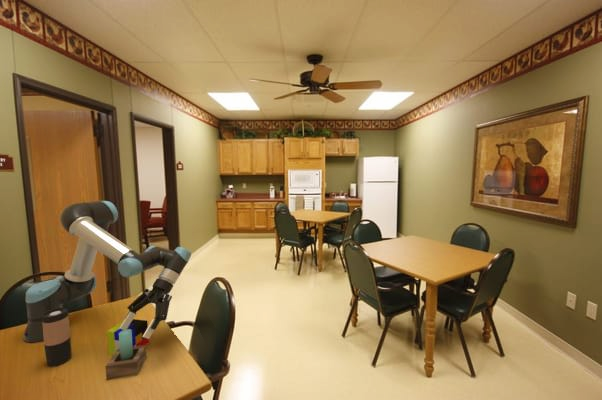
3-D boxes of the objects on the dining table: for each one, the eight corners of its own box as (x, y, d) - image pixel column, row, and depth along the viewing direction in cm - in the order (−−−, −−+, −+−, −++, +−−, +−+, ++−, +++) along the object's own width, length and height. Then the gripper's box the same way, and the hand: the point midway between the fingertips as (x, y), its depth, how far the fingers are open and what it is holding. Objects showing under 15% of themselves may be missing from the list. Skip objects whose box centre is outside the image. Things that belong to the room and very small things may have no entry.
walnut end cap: (118, 361, 105) (117, 348, 104) (146, 356, 107) (146, 345, 106) (106, 379, 95) (105, 366, 94) (137, 374, 97) (136, 361, 97)
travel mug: (42, 370, 100) (37, 319, 98) (50, 358, 107) (45, 310, 105) (68, 363, 104) (64, 314, 102) (74, 352, 110) (70, 305, 109)
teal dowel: (123, 359, 102) (121, 330, 101) (135, 358, 103) (133, 328, 102) (119, 367, 98) (116, 336, 97) (131, 365, 99) (129, 334, 98)
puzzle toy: (129, 357, 107) (128, 333, 106) (108, 354, 109) (107, 331, 108) (148, 342, 116) (147, 320, 116) (129, 340, 118) (127, 318, 118)
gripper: (192, 289, 112) (162, 344, 100) (152, 280, 122) (120, 329, 110) (181, 282, 107) (148, 338, 94) (140, 273, 117) (105, 323, 104)
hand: (133, 333), depth 102 cm, fingers open, 13 cm apart
